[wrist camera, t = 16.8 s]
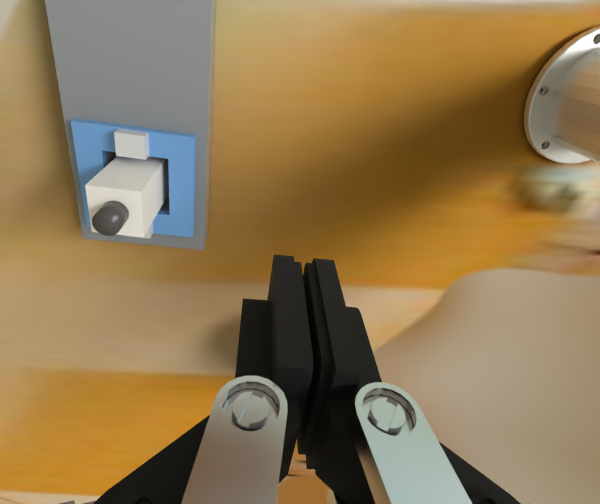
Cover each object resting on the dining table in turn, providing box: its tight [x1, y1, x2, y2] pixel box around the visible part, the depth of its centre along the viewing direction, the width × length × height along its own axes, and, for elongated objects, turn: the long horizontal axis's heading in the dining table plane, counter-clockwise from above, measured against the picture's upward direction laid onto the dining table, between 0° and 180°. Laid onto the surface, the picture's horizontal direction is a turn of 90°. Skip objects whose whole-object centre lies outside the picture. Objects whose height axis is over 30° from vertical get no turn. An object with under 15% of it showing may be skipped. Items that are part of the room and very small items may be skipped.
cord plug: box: [85, 156, 169, 237], centre depth 33 cm, size 4×4×12 cm
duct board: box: [45, 0, 216, 250], centre depth 31 cm, size 12×34×5 cm, turn 171°
